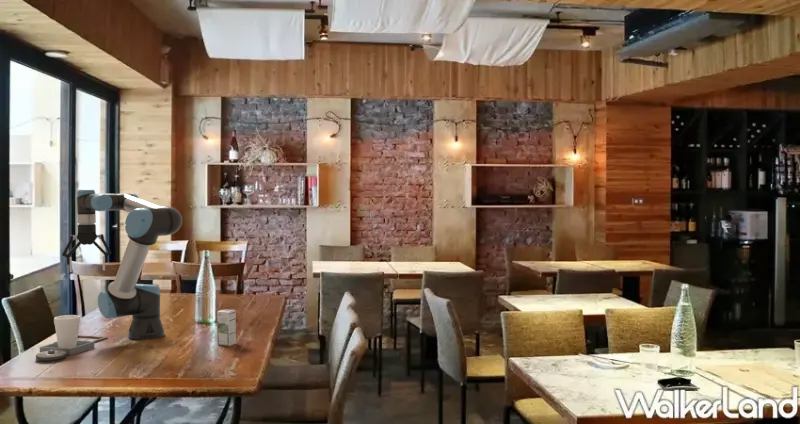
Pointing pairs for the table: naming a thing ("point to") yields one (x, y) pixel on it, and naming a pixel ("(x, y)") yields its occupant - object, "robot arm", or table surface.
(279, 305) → the table surface
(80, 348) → the tray
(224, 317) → the syrup box
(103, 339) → the square wooden frame
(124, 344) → the table surface
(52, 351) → the metal pot lid
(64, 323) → the foam cup
